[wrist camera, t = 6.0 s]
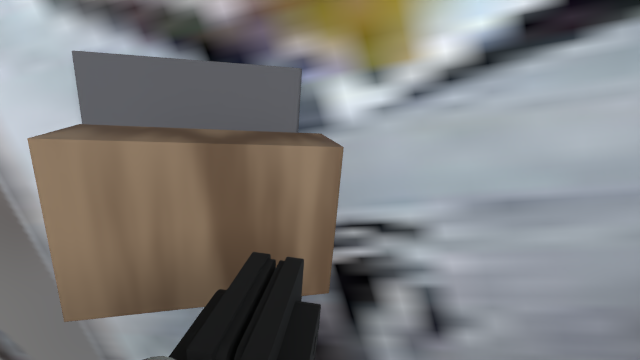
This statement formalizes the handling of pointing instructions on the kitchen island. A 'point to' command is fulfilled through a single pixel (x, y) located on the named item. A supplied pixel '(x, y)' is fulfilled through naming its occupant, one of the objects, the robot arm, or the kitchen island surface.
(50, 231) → the brown wooden block
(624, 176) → the kitchen island surface
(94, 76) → the charcoal mat
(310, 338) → the robot arm
